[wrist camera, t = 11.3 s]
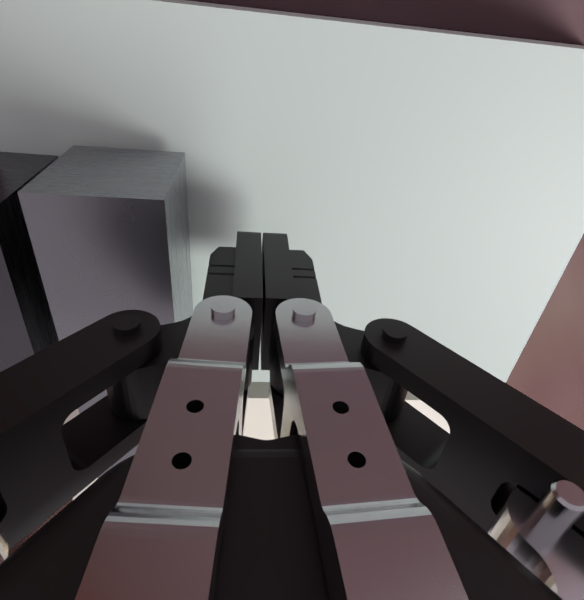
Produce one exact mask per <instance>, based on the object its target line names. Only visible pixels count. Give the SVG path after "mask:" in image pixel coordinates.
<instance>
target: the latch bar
mask: <svg viewBox="0 0 584 600" xmlns="http://www.w3.org/2000/svg"><path fill="white" fill-rule="evenodd" d="M17 193H18V196H19V200H20V204H21V207H22V211H23V214H24V218H25V221H26V225H27V229H28V232H29V236H30V239H31V243H32V246H33V250H34V254H35V257H36V261H37V264H38V268H39V271H40V275H41V278H42V282H43V286H44V289H45V293H46V296H47V300H48V303H49V307H50V311H51V314H52V318H53V321H54V325H55V328H56V332H57V336H58V339H59V341H60V340H62V339H64V338H66V337H68V336H70V335H72V334H73V333H75V332H77V331H79V330H81V329H83V328H85V327H87V326H89V325H91V324H92V323H94V322H96V321H98V320H100V319H102V318H104V317H106V316H108V315H110V314H112V313H115V312H119V311H123V310H142V311H146V312H149V313H151V314H153V315H154V316H156V317H157V318H158V320H159V322H160V325H164V324H169V323H175V322H179V321H182V320H185V319H187V318H189V317H191V316H192V314H193V299H192V279H191V260H190V240H189V221H188V202H187V182H186V163H185V152H169V151H154V150H139V149H123V148H108V147H92V146H77V145H73V146H72V147H71V148H70V149H69V150H67V151H66V152H65V153H64V154H63V155H61V156H60V157H59V158H58V159H57V160H55V161H54V162H53V163H52V164H51V165H49V166H48V167H47V168H46V169H45V170H43V171H42V172H41V173H40V174H39V175H37V176H36V177H35V178H34V179H33V180H31V181H30V182H29V183H28V184H27V185H26V186H24V187H23V188H22V189H21V190H20V191H18V192H17ZM107 395H108V394H107V390H105V391H103V392H102V393H100V394H99V395H97V396H96V397H94V398H93V399H91V400H90V401H88V402H87V403H85V404H84V405H82V406H81V407H79V408H78V410H79V414H80V413H81V412H83V411H84V410H86V409H87V408H89V407H90V406H92V405H93V404H95V403H96V402H98V401H99V400H101V399H102V398H104V397H105V396H107ZM137 447H138V445H137V446H135V447H134V448H133V449H132V450H131V451H129V452H128V453H127V454H126V455H124V456H123V457H122V458H121V459H120V460H118V461H117V462H116V463H115V464H113V465H112V466H111V467H110V468H109V469H111V468H112V467H114V466H115V465H117V464H118V463H120V462H122V461H123V460H125V459H127V458H129V457H130V456H133V455H135V453H136V450H137ZM109 469H107V470H106V471H105V472H107V471H108V470H109ZM105 472H104V473H105ZM104 473H102V474H101V475H100V476H99V477H101V476H102V475H103V474H104ZM99 477H98V478H99Z"/></svg>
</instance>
